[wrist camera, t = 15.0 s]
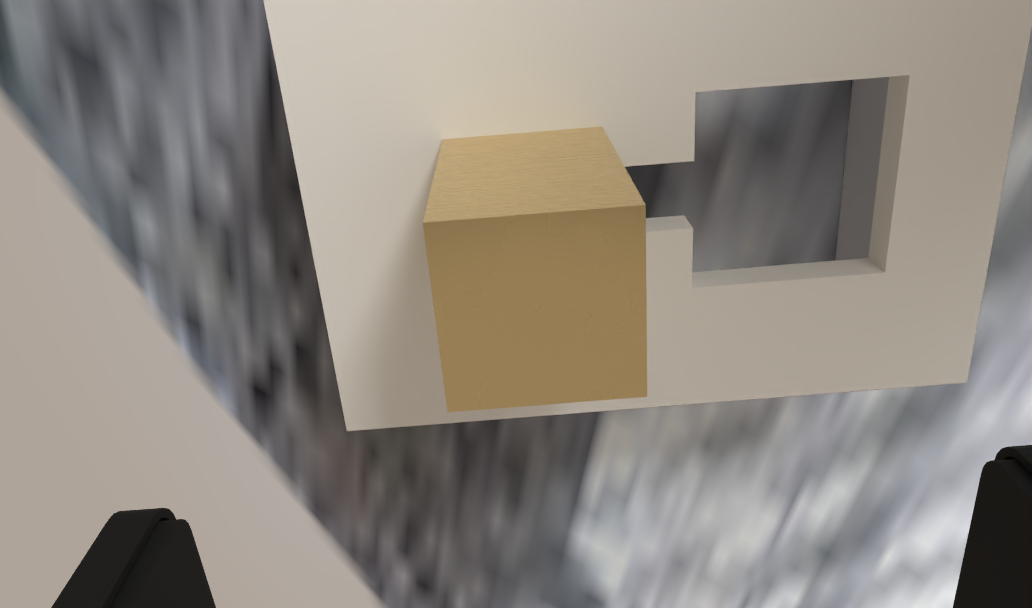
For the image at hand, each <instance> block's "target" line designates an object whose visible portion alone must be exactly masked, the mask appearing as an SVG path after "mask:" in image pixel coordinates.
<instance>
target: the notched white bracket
mask: <svg viewBox="0 0 1032 608" xmlns="http://www.w3.org/2000/svg"><path fill="white" fill-rule="evenodd" d="M264 5H265V11H266V16H267V21H268V26H269V31H270V36H271V42H272V47H273V52H274V57H275V62H276V67H277V73H278V78H279V83H280V88H281V93H282V98H283V104H284V109H285V114H286V119H287V124H288V129H289V135H290V140H291V145H292V150H293V155H294V160H295V166H296V171H297V176H298V181H299V186H300V191H301V197H302V202H303V207H304V212H305V217H306V222H307V228H308V233H309V238H310V243H311V248H312V253H313V259H314V264H315V269H316V274H317V279H318V284H319V290H320V295H321V300H322V305H323V310H324V316H325V321H326V326H327V331H328V336H329V341H330V347H331V352H332V357H333V362H334V367H335V372H336V378H337V383H338V388H339V393H340V398H341V403H342V409H343V414H344V419H345V424H346V429H347V431H356V430H368V429H381V428H394V427H407V426H419V425H432V424H445V423H458V422H470V421H483V420H496V419H509V418H521V417H534V416H547V415H560V414H573V413H585V412H598V411H611V410H624V409H636V408H649V407H662V406H675V405H687V404H700V403H713V402H726V401H738V400H751V399H764V398H777V397H790V396H802V395H815V394H828V393H841V392H853V391H866V390H879V389H892V388H904V387H917V386H930V385H943V384H955V383H967V379H968V374H969V369H970V363H971V358H972V352H973V347H974V341H975V336H976V330H977V325H978V319H979V314H980V308H981V303H982V297H983V292H984V286H985V281H986V275H987V270H988V264H989V259H990V254H991V248H992V243H993V237H994V232H995V226H996V221H997V215H998V210H999V204H1000V199H1001V193H1002V188H1003V182H1004V177H1005V171H1006V166H1007V160H1008V155H1009V149H1010V144H1011V138H1012V133H1013V128H1014V122H1015V117H1016V111H1017V106H1018V100H1019V95H1020V89H1021V84H1022V78H1023V73H1024V67H1025V62H1026V56H1027V51H1028V45H1029V40H1030V34H1031V29H1032V0H264ZM842 80H853V83H852V94H851V104H850V114H849V125H848V135H847V145H846V156H845V166H844V176H843V187H842V197H841V207H840V218H839V228H838V238H837V249H836V259H835V261H824V262H812V263H799V264H786V265H774V266H761V267H749V268H736V269H724V270H711V271H698V272H692V268H693V227H692V226H691V224H690V223H689V221H688V220H687V218H686V217H685V215H680V216H668V217H655V218H646V293H647V397H638V398H625V399H612V400H600V401H587V402H574V403H561V404H549V405H536V406H523V407H510V408H498V409H485V410H472V411H459V412H447V406H446V398H445V390H444V383H443V375H442V367H441V359H440V352H439V344H438V336H437V329H436V321H435V313H434V306H433V298H432V290H431V283H430V275H429V267H428V260H427V252H426V244H425V236H424V229H423V219H424V215H425V211H426V207H427V203H428V198H429V194H430V190H431V186H432V182H433V177H434V173H435V169H436V165H437V161H438V156H439V152H440V148H441V144H442V139H453V138H465V137H477V136H490V135H502V134H515V133H527V132H539V131H552V130H564V129H576V128H589V127H601V126H602V127H603V129H604V131H605V133H606V134H607V136H608V138H609V140H610V142H611V143H612V145H613V147H614V149H615V150H616V152H617V154H618V156H619V158H620V159H621V161H622V163H623V165H624V167H627V166H639V165H652V164H664V163H677V162H689V161H694V153H695V96H696V92H707V91H719V90H731V89H744V88H756V87H768V86H781V85H793V84H805V83H818V82H830V81H842Z"/></svg>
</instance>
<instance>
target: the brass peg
mask: <svg viewBox="0 0 1032 608" xmlns="http://www.w3.org/2000/svg"><path fill="white" fill-rule="evenodd" d="M423 229H424V236H425V244H426V252H427V260H428V267H429V275H430V283H431V290H432V298H433V306H434V313H435V321H436V329H437V336H438V344H439V352H440V359H441V367H442V375H443V383H444V390H445V398H446V406H447V412H459V411H472V410H485V409H498V408H510V407H523V406H536V405H549V404H561V403H574V402H587V401H600V400H612V399H625V398H638V397H647V293H646V204H645V203H644V201H643V199H642V197H641V195H640V194H639V192H638V190H637V188H636V186H635V185H634V183H633V181H632V179H631V177H630V176H629V174H628V172H627V170H626V168H625V167H624V165H623V163H622V161H621V159H620V158H619V156H618V154H617V152H616V150H615V149H614V147H613V145H612V143H611V142H610V140H609V138H608V136H607V134H606V133H605V131H604V129H603V127H602V126H601V127H589V128H576V129H564V130H552V131H539V132H527V133H515V134H502V135H490V136H477V137H465V138H453V139H442V144H441V148H440V152H439V156H438V161H437V165H436V169H435V173H434V177H433V182H432V186H431V190H430V194H429V198H428V203H427V207H426V211H425V215H424V219H423Z"/></svg>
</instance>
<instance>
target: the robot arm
mask: <svg viewBox="0 0 1032 608" xmlns="http://www.w3.org/2000/svg"><path fill="white" fill-rule="evenodd" d="M52 608H216V607H215V604H214V601H213V598H212V594H211V591H210V588H209V585H208V581H207V578H206V575H205V572H204V569H203V566H202V563H201V559H200V556H199V553H198V550H197V547H196V543H195V540H194V537H193V534H192V531H191V528H190V526H189V524H188V522H187V521H186V520H183V519H179V520H176V518H175V516H174V514H173V513H172V512H171V511H170V510H169V509H166V508H157V509H144V510H130V511H119V512H117V513H114V514H113V515H112V516H111V518H110V519H109V520H108V521H107V523H106V524H105V526H104V527H103V529H102V530H101V532H100V533H99V535H98V537H97V538H96V540H95V541H94V543H93V544H92V546H91V548H90V549H89V550H88V552H87V554H86V555H85V557H84V558H83V560H82V561H81V563H80V565H79V566H78V567H77V569H76V570H75V572H74V574H73V575H72V577H71V578H70V580H69V581H68V583H67V584H66V586H65V588H64V589H63V591H62V592H61V594H60V595H59V597H58V598H57V600H56V601H55V603H54V604H53V606H52ZM953 608H1032V445H1026V446H1012V447H1005V448H1002V449H1001V450H1000V451H999V452H998V453H997V455H996V458H995V460H994V461H989V462H987V463H986V464H985V465H984V467H983V470H982V473H981V477H980V482H979V487H978V492H977V496H976V501H975V506H974V510H973V515H972V520H971V525H970V529H969V534H968V539H967V544H966V548H965V553H964V558H963V562H962V567H961V572H960V577H959V581H958V586H957V591H956V595H955V600H954V605H953Z"/></svg>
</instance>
